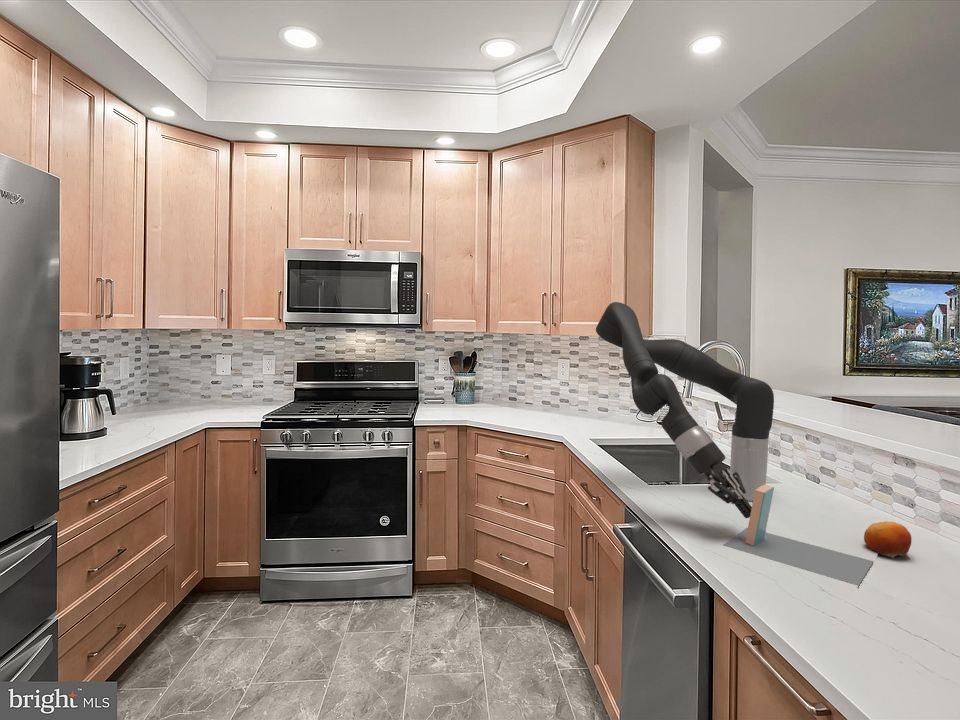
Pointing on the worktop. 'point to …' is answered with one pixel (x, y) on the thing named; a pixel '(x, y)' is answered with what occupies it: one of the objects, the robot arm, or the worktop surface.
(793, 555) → the mat
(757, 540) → the tile
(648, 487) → the worktop surface
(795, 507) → the worktop surface
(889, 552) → the fruit
